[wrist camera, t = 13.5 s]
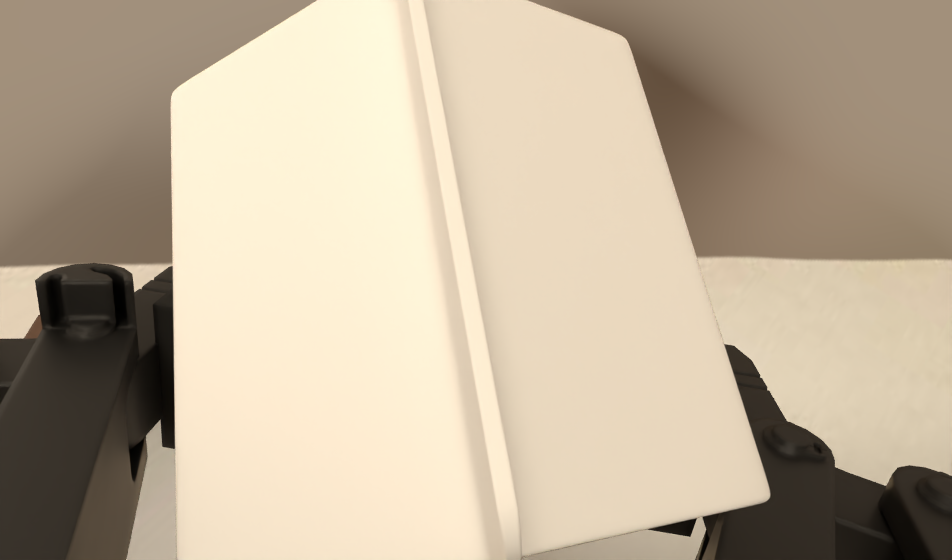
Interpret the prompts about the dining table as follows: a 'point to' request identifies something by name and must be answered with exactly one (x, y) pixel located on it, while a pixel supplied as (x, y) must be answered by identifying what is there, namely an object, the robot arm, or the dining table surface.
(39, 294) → the robot arm
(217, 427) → the milk
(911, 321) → the dining table surface
